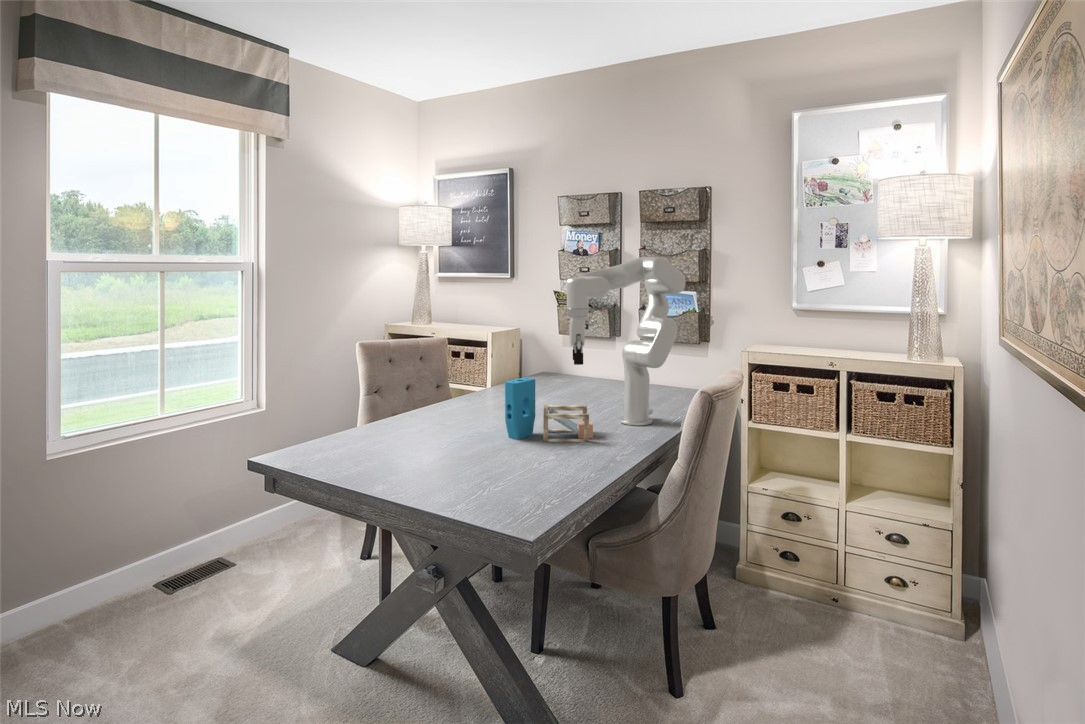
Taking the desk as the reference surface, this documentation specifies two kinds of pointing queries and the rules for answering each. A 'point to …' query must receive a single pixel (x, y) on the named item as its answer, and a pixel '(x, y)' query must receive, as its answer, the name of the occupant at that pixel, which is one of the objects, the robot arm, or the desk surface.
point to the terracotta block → (581, 429)
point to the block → (520, 407)
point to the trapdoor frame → (565, 416)
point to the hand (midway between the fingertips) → (577, 362)
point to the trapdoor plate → (565, 421)
